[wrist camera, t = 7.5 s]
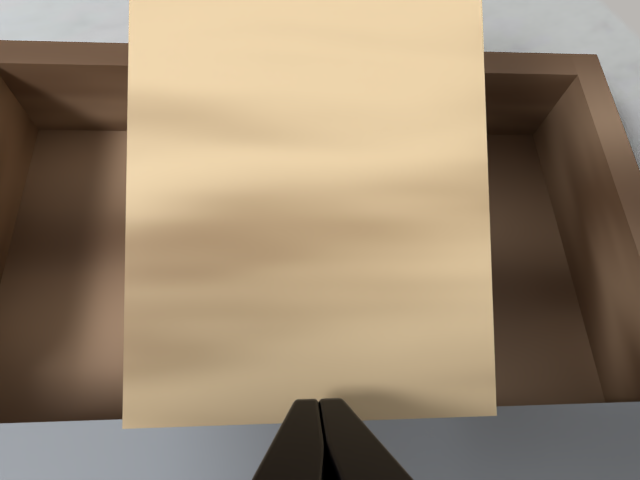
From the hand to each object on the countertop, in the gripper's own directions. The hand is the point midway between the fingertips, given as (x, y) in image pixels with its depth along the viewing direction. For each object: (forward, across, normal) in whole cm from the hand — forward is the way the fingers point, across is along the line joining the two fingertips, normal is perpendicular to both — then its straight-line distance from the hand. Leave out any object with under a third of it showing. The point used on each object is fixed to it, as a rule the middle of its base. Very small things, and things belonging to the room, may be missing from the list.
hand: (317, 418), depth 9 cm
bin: (+10, 0, +1) cm, 10 cm away
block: (+4, 0, +2) cm, 4 cm away
